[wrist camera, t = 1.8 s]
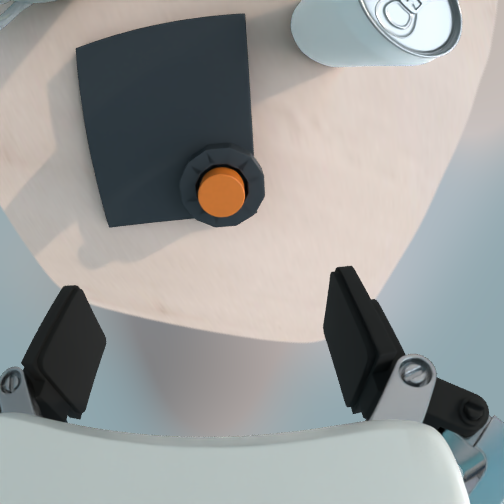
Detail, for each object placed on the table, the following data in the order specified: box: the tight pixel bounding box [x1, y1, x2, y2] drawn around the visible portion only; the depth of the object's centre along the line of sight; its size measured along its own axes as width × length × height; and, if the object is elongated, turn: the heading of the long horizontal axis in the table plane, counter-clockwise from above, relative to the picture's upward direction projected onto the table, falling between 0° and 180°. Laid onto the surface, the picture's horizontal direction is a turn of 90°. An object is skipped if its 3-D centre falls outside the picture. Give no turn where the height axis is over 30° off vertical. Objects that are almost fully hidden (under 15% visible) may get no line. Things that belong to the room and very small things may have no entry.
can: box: [291, 0, 462, 67], centre depth 12 cm, size 6×6×12 cm
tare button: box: [198, 167, 245, 217], centre depth 21 cm, size 3×3×2 cm
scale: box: [76, 14, 265, 227], centre depth 19 cm, size 16×14×3 cm
